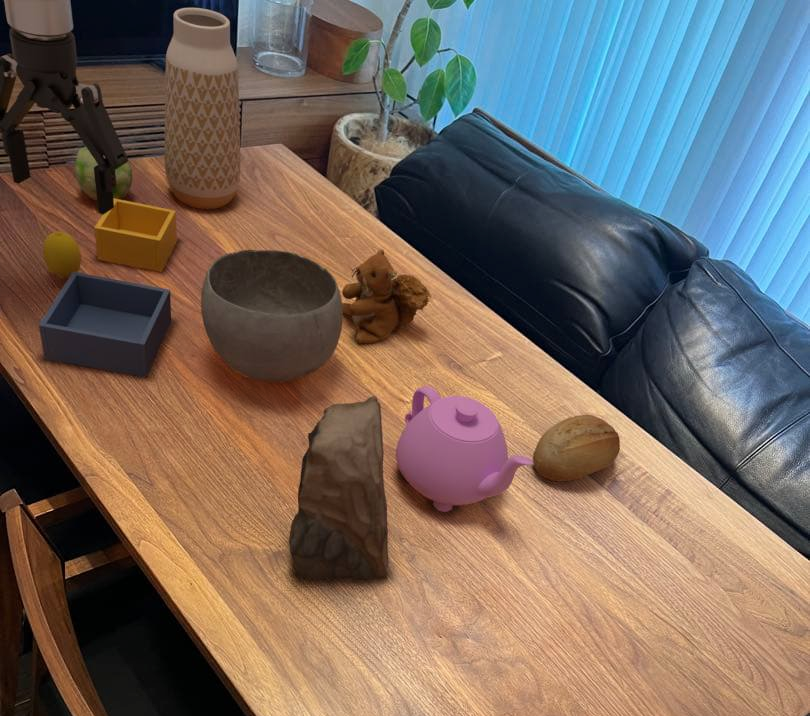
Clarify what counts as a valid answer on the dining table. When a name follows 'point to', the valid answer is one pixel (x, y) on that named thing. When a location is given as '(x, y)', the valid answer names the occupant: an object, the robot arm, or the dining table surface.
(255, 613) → the dining table surface
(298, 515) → the jagged boulder chunk
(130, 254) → the yellow bin
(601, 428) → the bread roll
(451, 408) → the teapot
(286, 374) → the bowl
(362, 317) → the stuffed squirrel
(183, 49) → the vase
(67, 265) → the lemon
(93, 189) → the decorative ball
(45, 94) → the robot arm
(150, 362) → the blue bin
